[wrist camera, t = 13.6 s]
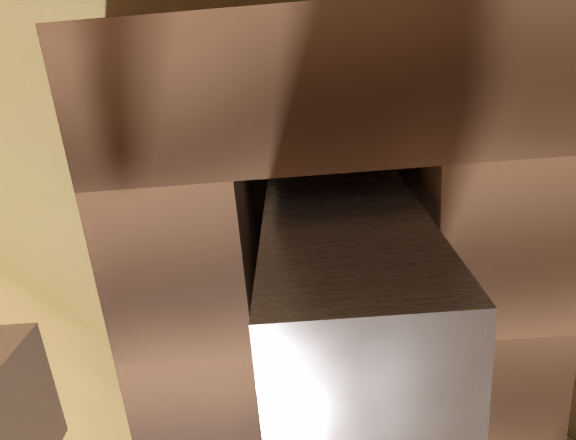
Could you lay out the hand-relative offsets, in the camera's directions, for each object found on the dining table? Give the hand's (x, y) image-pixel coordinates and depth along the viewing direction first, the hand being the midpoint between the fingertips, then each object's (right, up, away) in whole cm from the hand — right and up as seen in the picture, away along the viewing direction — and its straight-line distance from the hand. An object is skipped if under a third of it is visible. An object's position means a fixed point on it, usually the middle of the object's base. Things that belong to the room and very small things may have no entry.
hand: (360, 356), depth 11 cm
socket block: (0, +3, +9) cm, 9 cm away
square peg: (0, +3, +9) cm, 9 cm away
